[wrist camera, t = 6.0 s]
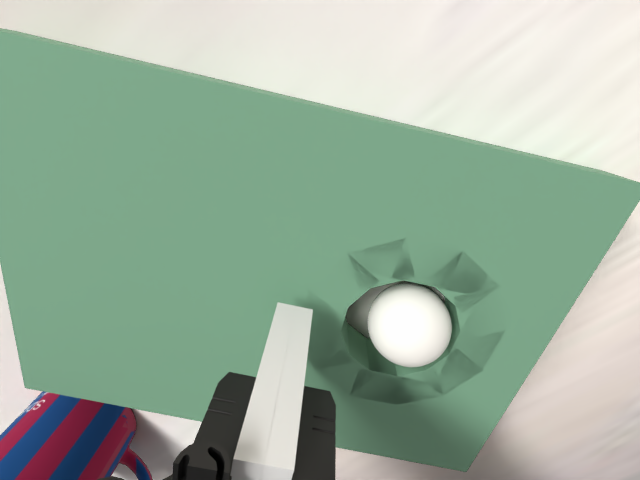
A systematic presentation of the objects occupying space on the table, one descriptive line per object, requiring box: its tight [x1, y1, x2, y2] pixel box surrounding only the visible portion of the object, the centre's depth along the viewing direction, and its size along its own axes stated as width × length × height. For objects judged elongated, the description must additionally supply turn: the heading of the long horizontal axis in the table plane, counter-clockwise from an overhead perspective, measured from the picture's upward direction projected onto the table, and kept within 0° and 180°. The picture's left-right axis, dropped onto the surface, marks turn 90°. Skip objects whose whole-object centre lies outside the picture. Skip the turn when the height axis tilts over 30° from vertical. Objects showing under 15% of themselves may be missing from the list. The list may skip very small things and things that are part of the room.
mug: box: [0, 391, 153, 480], centre depth 21 cm, size 7×10×7 cm
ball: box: [368, 283, 452, 367], centre depth 17 cm, size 4×4×4 cm
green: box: [0, 28, 640, 472], centre depth 17 cm, size 26×18×2 cm
